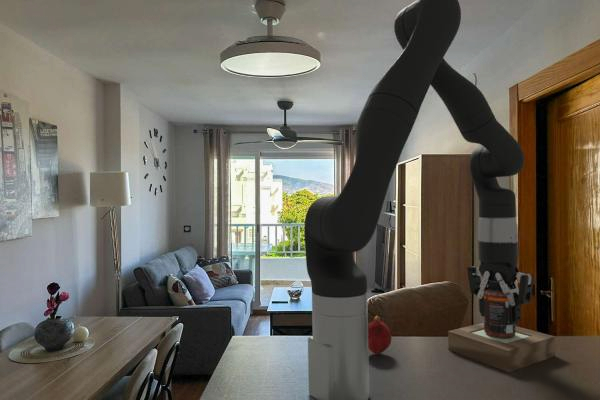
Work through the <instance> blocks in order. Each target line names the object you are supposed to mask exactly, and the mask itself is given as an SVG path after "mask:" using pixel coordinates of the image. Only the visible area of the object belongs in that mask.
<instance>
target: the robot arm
mask: <svg viewBox="0 0 600 400" xmlns="http://www.w3.org/2000/svg"><path fill="white" fill-rule="evenodd" d="M461 19H462V9H461V5H460V2H459V0H415V1H413V2H412V3H410V4H408V5H407V6H405V7H404V8H402V9H401V10H400V11H399V12H398V13H397V15H396V17H395V19H394V23H393V28H394V30H393V32H394V34H395V38H396V40H397V42H398V44H399V46H400V48H401V49H402V50H403V51H402V52H401V54H400V55H399V56H398V57H397V59H395V61H394V62H393V63H392V64H391V65H390V66H389V68H388V69H387V70H386V71H385V72H384V74H383V75H382V76H381V77H380V79H379V80H378V81H377V83H375V85H374V87H373V88H372V90H371V92H370V93H369V95H368V97H367V100H366V101H365V104H364V106H363V108H362V110H361V112H360V114H359V118H358V120H357V123H356V131H355V144H356V146H355V147H356V149H355V150H356V151H355V152H356V156H355V161H354V164H353V167H352V169H351V171H350V174H349V177H348V178H347V181H346V183H345V184H344V186H343V188H342V190H341V191H340V192H339V194H338V195H326V196H321V197H319V198H317V199H315V200H314V201H313V202H312V203H311V204H310V205H309V207H308V209H307V211H306V214H305V218H304V249H305V262H306V270H307V275H308V277H309V280H310V283H311V319H312V320H311V322H312V323H311V324H312V327H311V328H312V336H309V337H308V338H307V358H308V359H307V360H308V362H307V363H308V364H307V365H308V366H307V367H308V370H307V371H308V395H310V397H312V398H314V399H315V400H368V399H369V398H370V368H369V367H370V365H369V364H370V363H369V362H370V361H369V359H370V357H369V349H368V324H369V321H368V320H369V319H368V317H369V316H368V314H369V313H368V311H369V310H368V309H369V308H368V307H369V305H368V280H367V276H366V274H365V273H364V272H363V271H362V269H360V267H359V266H358V265H357V263H356V261H355V259H354V254H353V253H356V252H359V251H361V250H362V249H363V248H365V247H366V246H367V245H368V244H369V242H370V241H371V240H372V238H373V236H374V235H375V232H376V228H377V226H378V223H379V220H380V216H381V213H382V209H383V206H384V204H385V203H384V202H385V199H386V196H387V192H388V189H389V186H390V183H391V180H392V178H393V176H394V172H395V170H396V169H397V168H396V167H397V165H398V163H399V160H400V157H401V155H402V152H403V150H404V147H405V146H406V143H407V140H408V139H409V137H410V135H411V133H412V131H413V127H414V125H415V123H416V120H417V118H418V115H419V112H420V109H421V107H422V104H423V102H424V101H425V100H424V99H426V95H427V93H428V91H429V89H430V88H431V87H432V89H433V90H434V91H435V92H436V94H437V96H439V98H440V99H441V101H442V102H443V104H444V105H445V107H446V109H447V110H448V112H449V114H450V116H451V118H452V120H453V122H454V124H455V125H456V127H457V129H458V131H459V133H460V135H461V136H462V138H463V139H464V140H465V141H466V142H468V143H471V144H478V145H479V146H477V147H476V148H475V149H473V150H472V152H471V154H470V156H469V157H470V158H469V163H468V164H469V172H470V174H471V175H470V176H471V178H472V182H473V184H474V189H475V192H476V195H477V197H478V226H477V239H478V240H477V241H478V245H477V246H478V249H477V250H478V260H479V262H480V264H479V266H478V265H473V266H468V267H467V271H466V272H467V278H468V285H469V290H470V294H471V295H474V296H477V298H478V310H479V314H480V316H481V317H483V318H484V291H485V290H487V289H488V288H489V286H488V282H489V280H493V281H498V282H499V284H500V286H501V288H502V291H503V293H504V295H506V296H507V299H508V301H509V303H510V305H509V323H510V324H515V325H516V324H519V323H520V321H521V320H522V314H521V313H522V311H521V310H522V307H521V306H522V305H527V304H530V303H531V301H532V296H533V295H532V293H533V286H534V279H535V278H534V275H533V274H532V273H524V272H520V269H519V268H518V263H519V235H518V234H519V230H518V229H519V228H518V224H517V205H516V204H517V202H516V194H515V192H514V191H513V190H511V189H508V188H504V187H501V185H500V184H499V181H498V179H497V178H505V177H512V176H515V175H517V174H519V173H520V172H522V169H523V168H524V165H525V154H524V151H523V149H522V147H521V145H520V144H519V142H518V141H517V140H516V139H515V138H514V137H513V136H512V134H511V133H510V132H509V131H508V130H507V129H506V128H505V127H504V126H503V125H502V124H501V123H500V122H499V121H498V120H497V118H496V116H495V114H494V112H493V111H492V107H490V104H489V102H488V101H487V98H486V97H485V95H484V94H483V92H482V91H481V90H480V89H479V87H477V86H476V85H475V84H474V83H473V82H472V81H470V80H469V79H468V78H466V77H465V76H463V75H462V74H461V73H460V72H459V71H457V70H456V69H454V68H453V67H452V66H451V65H450V64H449V63H448V62H447V60H445V58H444V57H445V55H446V53H447V52H448V50H449V49H450V46H451V45H452V43H453V41H454V40H455V38H456V36H457V33H458V31H459V29H460V25H461ZM430 86H431V87H430ZM481 277H482V279H481ZM517 279H518V280H517ZM516 281H517V282H518V284H519V286H518V285H517V282H516ZM509 288H510V289H509Z"/></svg>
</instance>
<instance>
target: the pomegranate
mask: <svg viewBox="0 0 600 400" xmlns="http://www.w3.org/2000/svg"><path fill="white" fill-rule="evenodd" d="M391 342H392V334H391V331H390V328H389V327H388V326H387V324H386V323H384V322H383V321H382V320H381V317H380V316H378V315H376V316H374V319H373V320H372V321H371V322H370V323H369V322H368V351H371V353H373V354H375V355H376V356H380V355H381V354H382V353H383V352H385V351H386V350H387V349H388V348H389V347H390V345H391V344H392V343H391Z"/></svg>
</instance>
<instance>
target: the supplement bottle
mask: <svg viewBox="0 0 600 400" xmlns="http://www.w3.org/2000/svg"><path fill="white" fill-rule="evenodd" d="M488 286H489V288H488V289H487V290H485V291H484V317H483V323H484V331H485V333H486V334H488V335H490V336H493V337H499V338H511V337H513V336H515V331H516V327H515V326H517V325H516V324H510V323H509V305H510V303H509V301H508V299H507V296H506V295H504V293H503V291H502V288H501V286H500V284H499V282H498V281H493V280H489V282H488ZM509 289H511V287H510V288H509Z"/></svg>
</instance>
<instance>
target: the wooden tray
mask: <svg viewBox="0 0 600 400" xmlns="http://www.w3.org/2000/svg"><path fill="white" fill-rule="evenodd" d="M515 327H516V331H515V332H516V333H520V334H523V335H527V336H529V337H526V338H523V339H519V340H516V341H512V342H509V343H503V342H500V341H497V340H493V339H490V338H487V337H484V336H480V335H477V334H474V333H473V332H477V331H480V330H484V322H481V323H480V322H479V323H477V324H473V325H468V326H465V327H464V326H463V327H460V328H455V329H452V330H448V331H447V334H448V336H447V338H448V351H451V352H454V353H455V354H459V355H461V356H463V357H467V358H470V359H472V360H475V361H477V362H481V363H482V364H483V363H484V364H486V365H488V366H492V367H494V368H497V369H499V370H502V371H505V372H507V373H511V372H514V371H517V370H520V369H523V368H525V367H528V366H531V365H535V364H536V363H537V364H538V363H539V362H543V361H545V360H548V359H552V358H554V357H556V336H554V335H551V334H547V333H543V332H540V331H535V330H532V329H528V328H525V327H524V328H523V327H520V326H517V325H516V326H515Z"/></svg>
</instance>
